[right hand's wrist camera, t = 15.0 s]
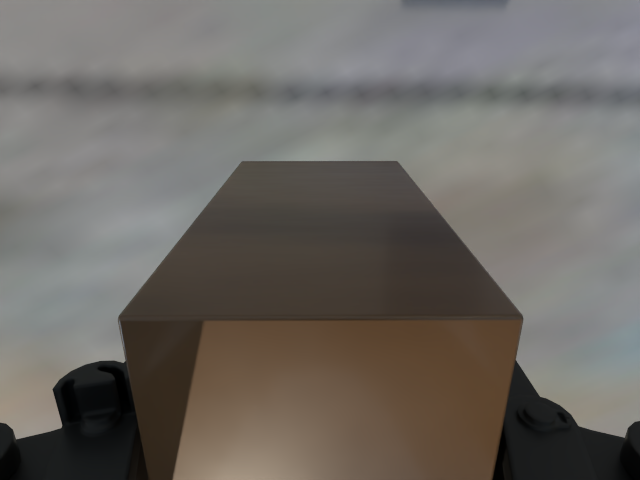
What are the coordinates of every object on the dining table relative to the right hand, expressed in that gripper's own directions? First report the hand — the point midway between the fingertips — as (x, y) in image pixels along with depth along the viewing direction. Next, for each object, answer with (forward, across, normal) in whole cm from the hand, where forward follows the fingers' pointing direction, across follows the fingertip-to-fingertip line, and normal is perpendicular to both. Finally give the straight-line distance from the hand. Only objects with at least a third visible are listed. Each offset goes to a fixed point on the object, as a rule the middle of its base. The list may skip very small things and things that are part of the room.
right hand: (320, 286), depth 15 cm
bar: (+1, 0, -9) cm, 9 cm away
